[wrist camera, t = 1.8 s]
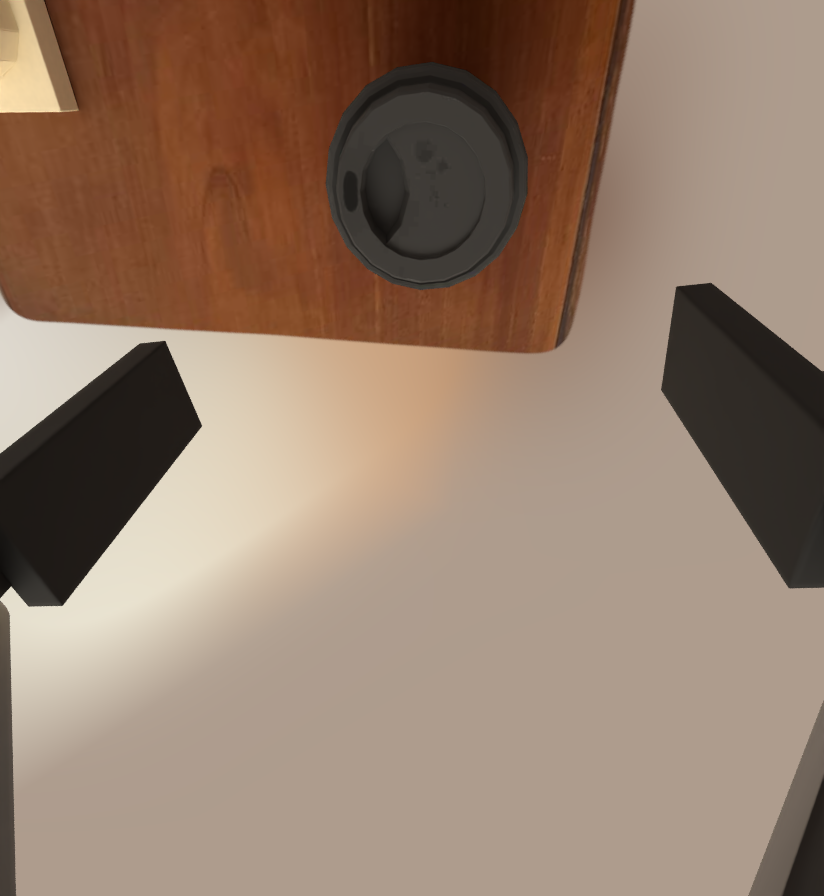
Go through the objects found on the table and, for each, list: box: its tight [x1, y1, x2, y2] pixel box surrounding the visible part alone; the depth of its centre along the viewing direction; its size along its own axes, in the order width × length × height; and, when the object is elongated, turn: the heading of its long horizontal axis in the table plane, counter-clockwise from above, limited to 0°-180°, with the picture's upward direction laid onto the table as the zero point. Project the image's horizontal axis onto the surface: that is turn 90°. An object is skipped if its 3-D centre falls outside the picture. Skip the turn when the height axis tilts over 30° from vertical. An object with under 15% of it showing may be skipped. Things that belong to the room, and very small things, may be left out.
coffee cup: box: [326, 62, 528, 290], centre depth 33 cm, size 11×11×15 cm
